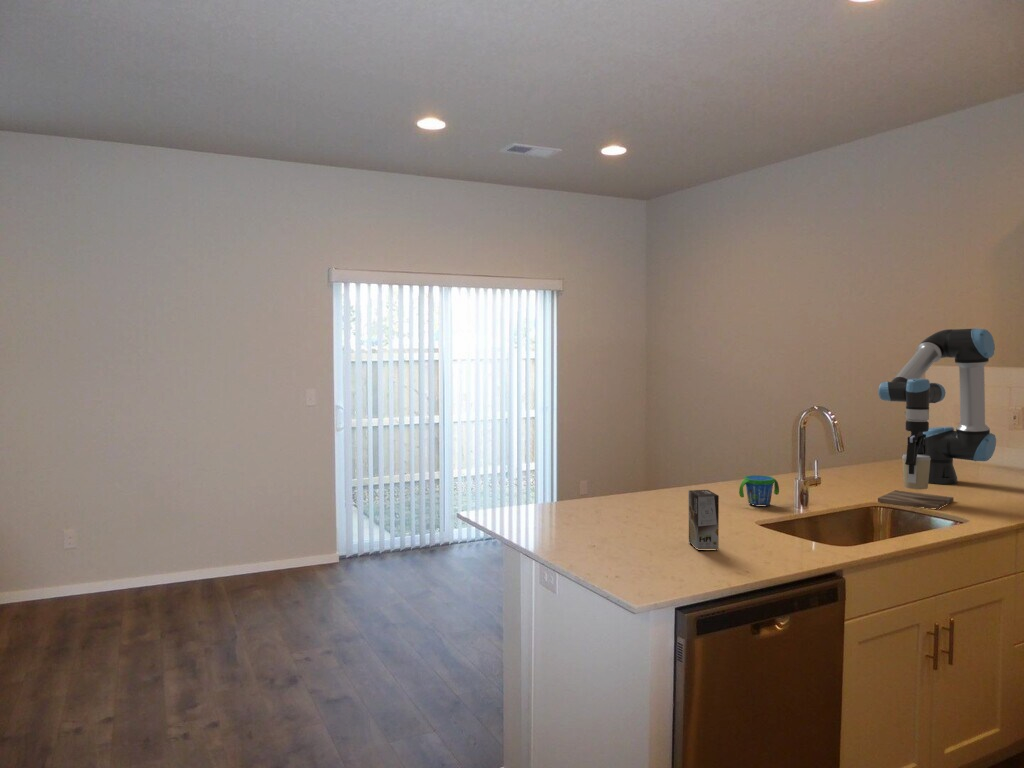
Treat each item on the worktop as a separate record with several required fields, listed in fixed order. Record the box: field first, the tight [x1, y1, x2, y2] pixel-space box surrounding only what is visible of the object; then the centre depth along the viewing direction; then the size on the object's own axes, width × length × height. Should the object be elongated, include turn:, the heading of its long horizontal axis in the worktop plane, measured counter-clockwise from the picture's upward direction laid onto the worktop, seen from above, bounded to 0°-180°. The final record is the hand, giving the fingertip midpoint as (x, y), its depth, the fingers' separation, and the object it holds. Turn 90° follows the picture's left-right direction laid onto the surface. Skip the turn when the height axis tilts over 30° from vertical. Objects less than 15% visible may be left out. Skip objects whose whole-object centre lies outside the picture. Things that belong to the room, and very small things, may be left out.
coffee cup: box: [901, 453, 931, 490], centre depth 271 cm, size 9×9×12 cm
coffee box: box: [688, 489, 720, 550], centre depth 213 cm, size 9×6×16 cm
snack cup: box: [738, 474, 780, 506], centre depth 268 cm, size 16×10×10 cm
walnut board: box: [877, 489, 955, 510], centre depth 271 cm, size 20×20×2 cm
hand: (915, 480), depth 271 cm, fingers closed on coffee cup, 9 cm apart
